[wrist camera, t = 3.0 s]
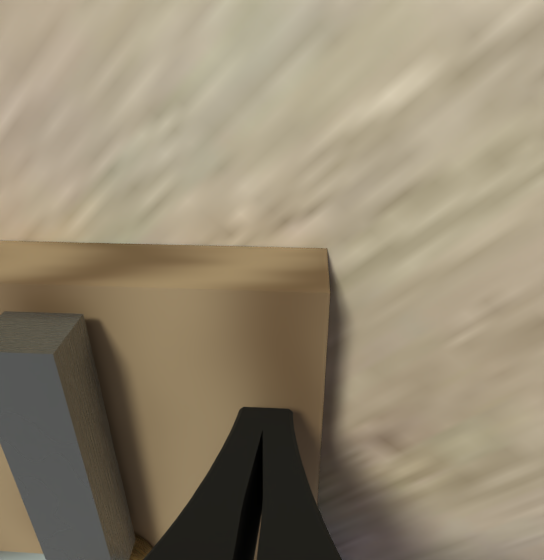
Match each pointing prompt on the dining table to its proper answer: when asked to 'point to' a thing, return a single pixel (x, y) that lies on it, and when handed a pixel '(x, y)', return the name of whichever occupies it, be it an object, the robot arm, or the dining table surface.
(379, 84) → the dining table surface
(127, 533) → the bar
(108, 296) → the door mockup
